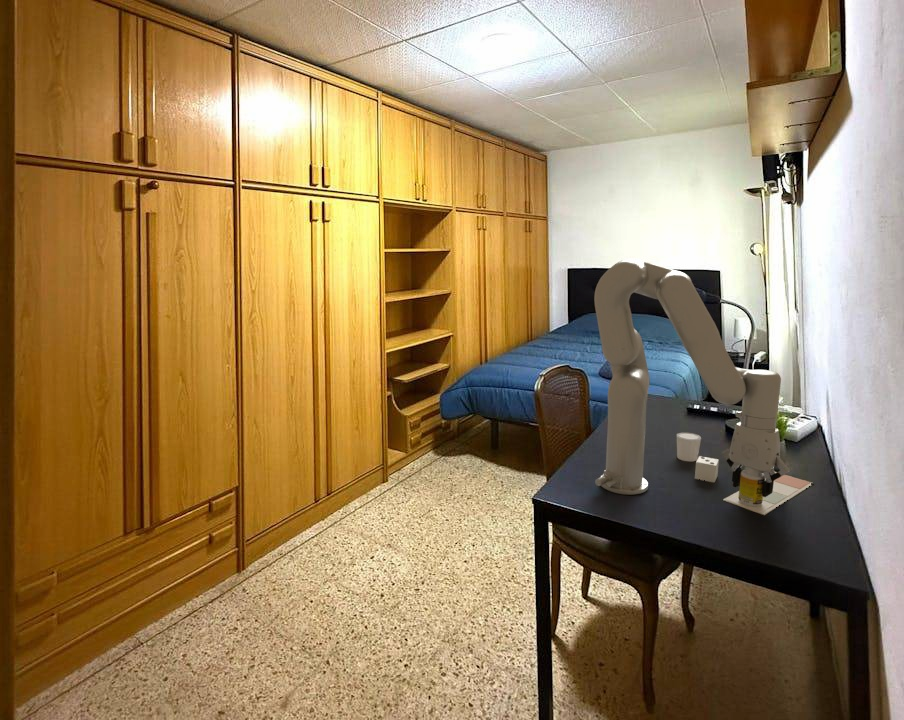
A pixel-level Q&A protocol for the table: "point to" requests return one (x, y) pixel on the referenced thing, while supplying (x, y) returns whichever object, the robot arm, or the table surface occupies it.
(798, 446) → the table surface
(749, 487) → the supplement bottle
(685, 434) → the white cup
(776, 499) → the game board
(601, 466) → the table surface
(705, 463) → the die
